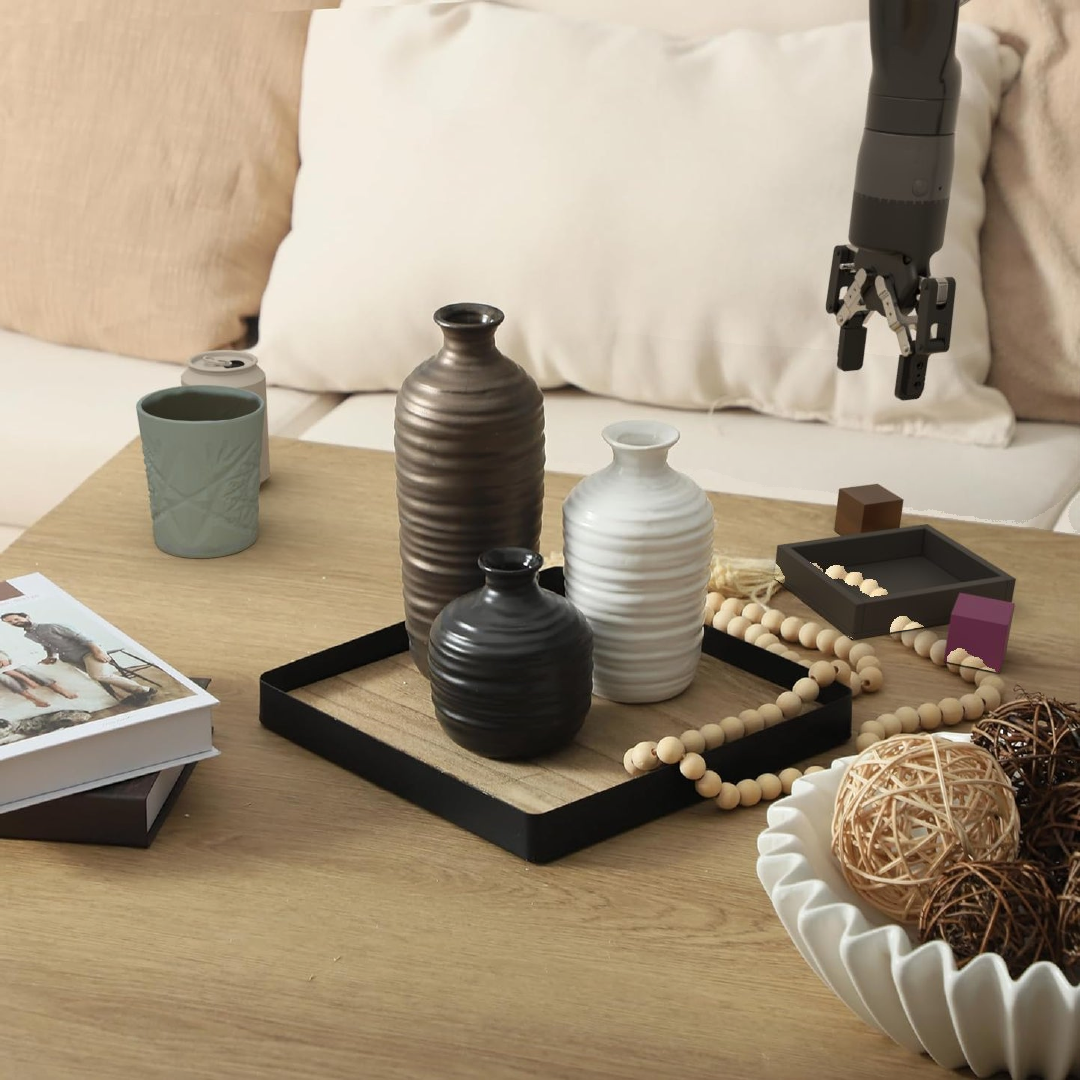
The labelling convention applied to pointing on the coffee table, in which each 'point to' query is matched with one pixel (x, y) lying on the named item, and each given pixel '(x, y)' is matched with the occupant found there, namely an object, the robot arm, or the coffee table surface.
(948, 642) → the plum block
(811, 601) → the tray
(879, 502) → the walnut block
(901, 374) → the robot arm
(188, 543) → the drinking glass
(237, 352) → the can
